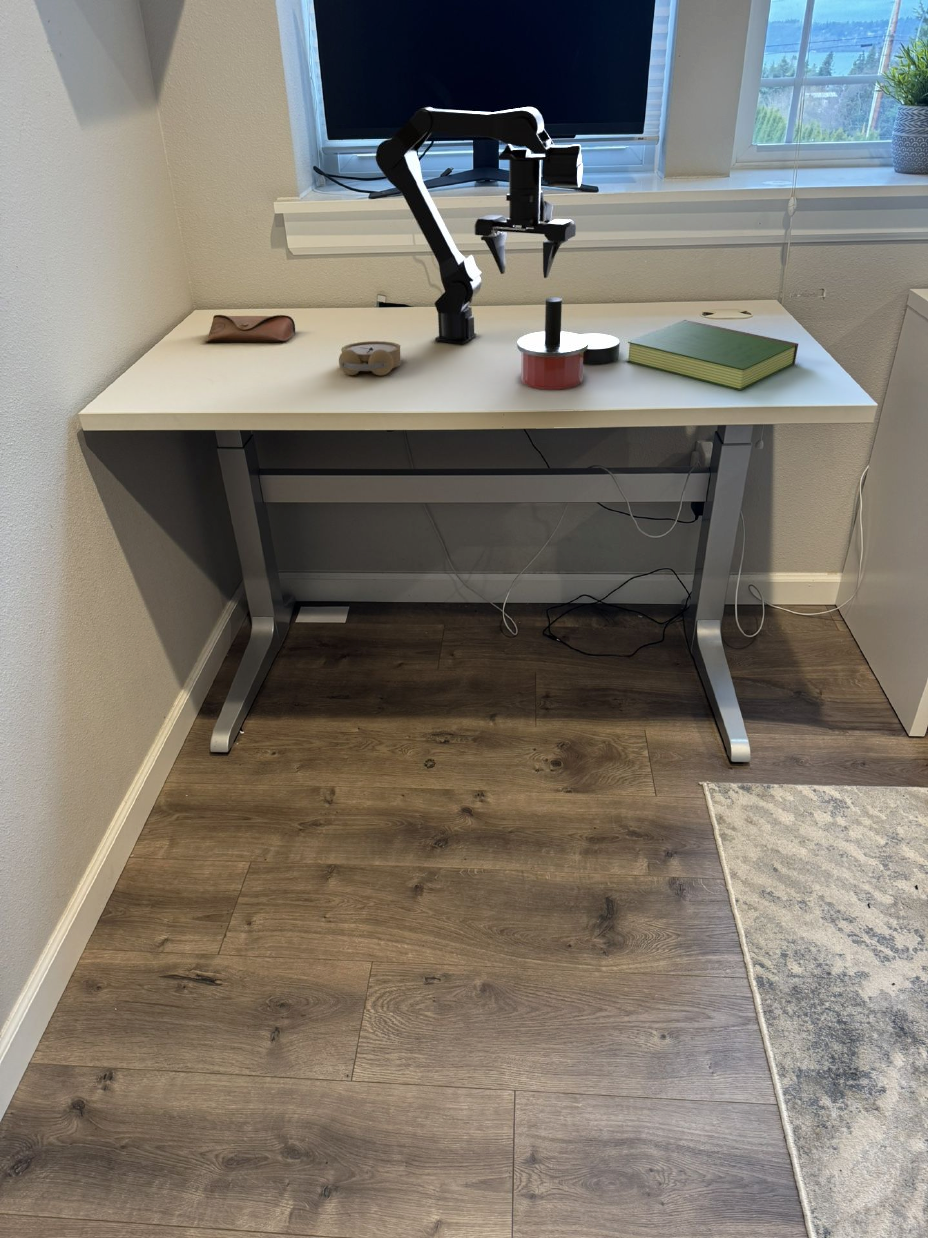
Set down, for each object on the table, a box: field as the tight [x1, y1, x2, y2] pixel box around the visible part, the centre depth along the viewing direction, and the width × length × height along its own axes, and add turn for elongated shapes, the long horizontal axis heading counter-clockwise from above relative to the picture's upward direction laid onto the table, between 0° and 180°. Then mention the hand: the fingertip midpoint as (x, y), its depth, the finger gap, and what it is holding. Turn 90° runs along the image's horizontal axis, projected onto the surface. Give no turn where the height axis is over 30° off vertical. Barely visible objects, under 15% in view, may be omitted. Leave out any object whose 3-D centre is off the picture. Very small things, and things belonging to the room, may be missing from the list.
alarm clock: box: [338, 340, 402, 376], centre depth 165 cm, size 11×5×15 cm
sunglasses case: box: [204, 314, 296, 344], centre depth 185 cm, size 18×7×7 cm
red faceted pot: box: [520, 351, 584, 391], centre depth 156 cm, size 11×11×6 cm
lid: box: [516, 297, 589, 357], centre depth 153 cm, size 13×13×8 cm
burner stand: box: [579, 333, 621, 366], centre depth 167 cm, size 10×10×3 cm
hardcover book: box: [626, 319, 799, 392], centre depth 162 cm, size 25×19×4 cm
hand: (524, 275), depth 170 cm, fingers open, 9 cm apart
